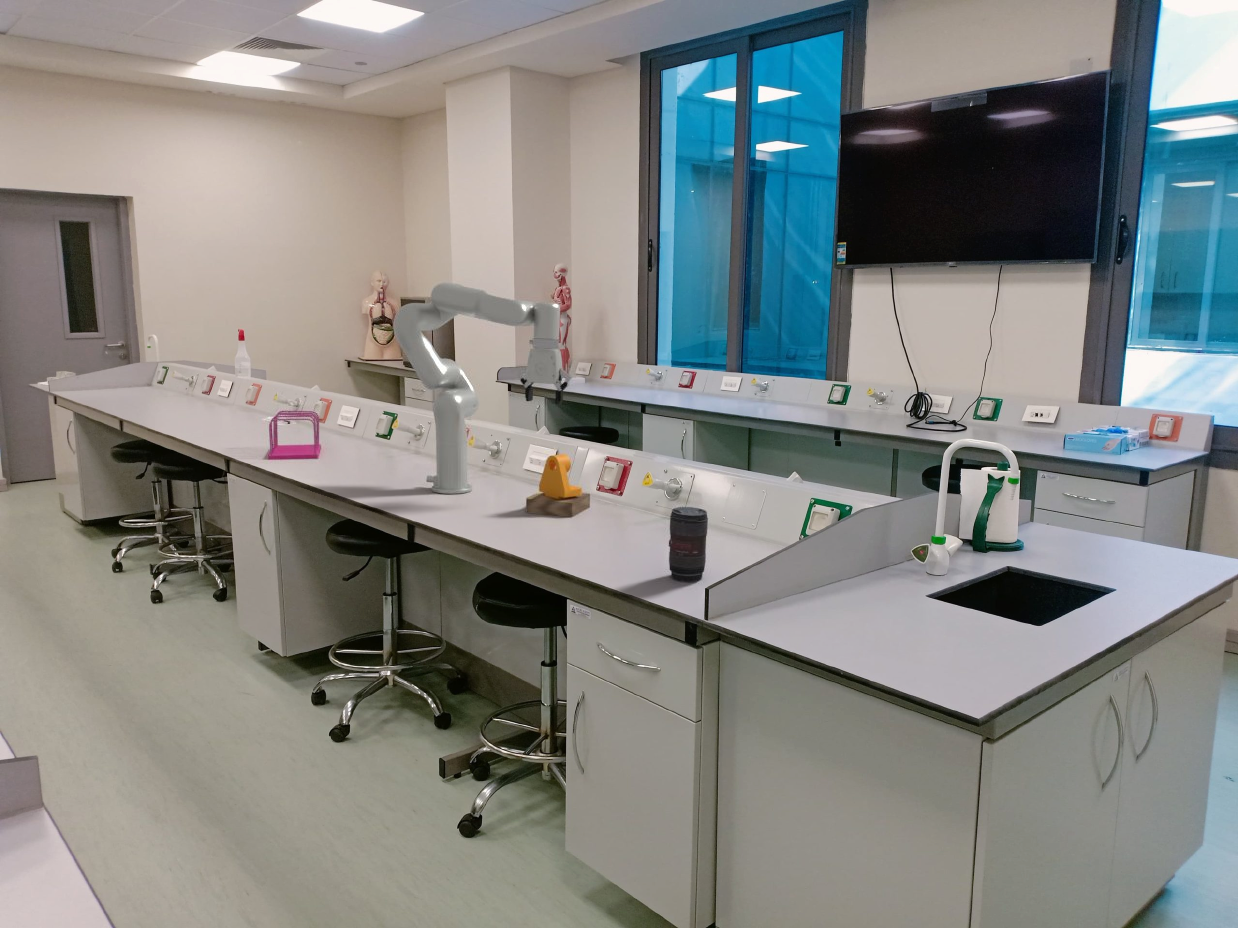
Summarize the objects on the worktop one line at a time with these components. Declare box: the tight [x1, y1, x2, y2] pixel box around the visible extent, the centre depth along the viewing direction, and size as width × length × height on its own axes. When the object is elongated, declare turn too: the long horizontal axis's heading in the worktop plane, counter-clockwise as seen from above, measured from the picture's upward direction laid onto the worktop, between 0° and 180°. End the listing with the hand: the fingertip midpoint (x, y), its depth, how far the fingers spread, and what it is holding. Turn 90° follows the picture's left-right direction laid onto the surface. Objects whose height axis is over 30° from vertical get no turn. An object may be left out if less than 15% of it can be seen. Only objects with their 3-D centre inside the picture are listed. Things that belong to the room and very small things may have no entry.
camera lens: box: [668, 506, 709, 583], centre depth 195 cm, size 8×8×15 cm
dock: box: [525, 491, 591, 518], centre depth 259 cm, size 14×14×4 cm
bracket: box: [538, 453, 583, 499], centre depth 258 cm, size 11×7×12 cm, turn 47°
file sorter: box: [268, 410, 322, 461], centre depth 344 cm, size 17×25×16 cm
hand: (543, 402), depth 270 cm, fingers open, 9 cm apart
